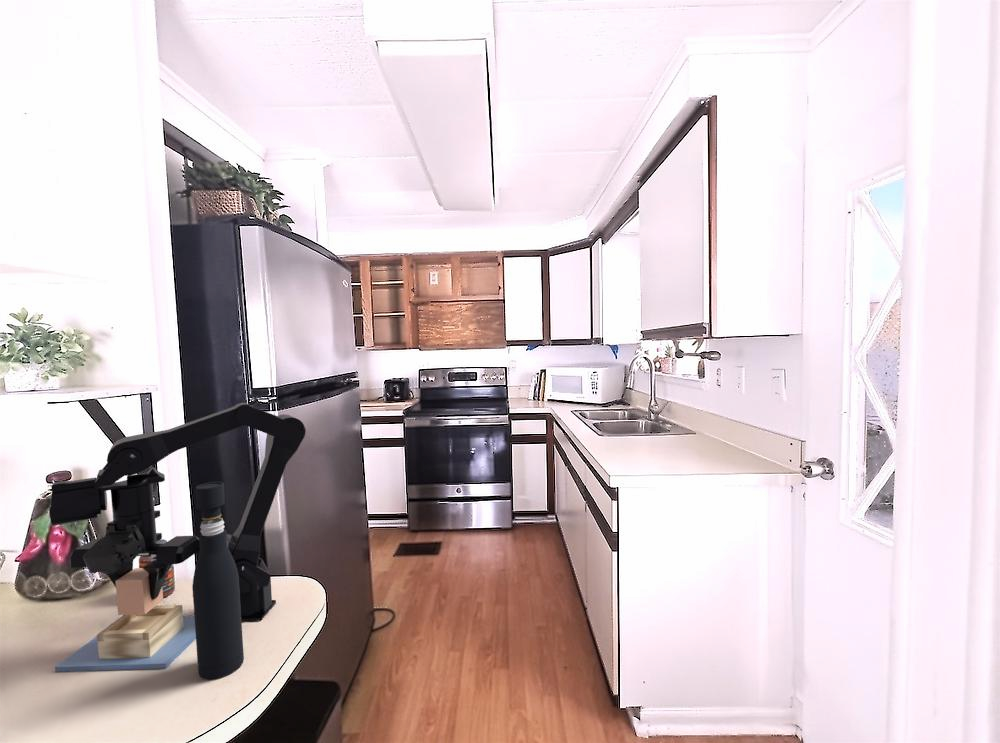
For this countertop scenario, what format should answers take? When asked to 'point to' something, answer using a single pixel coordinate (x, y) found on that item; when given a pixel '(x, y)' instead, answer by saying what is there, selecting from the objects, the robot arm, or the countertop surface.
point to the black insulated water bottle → (216, 592)
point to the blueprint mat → (162, 658)
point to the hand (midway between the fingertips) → (140, 598)
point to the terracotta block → (135, 593)
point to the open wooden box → (140, 633)
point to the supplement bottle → (169, 580)
